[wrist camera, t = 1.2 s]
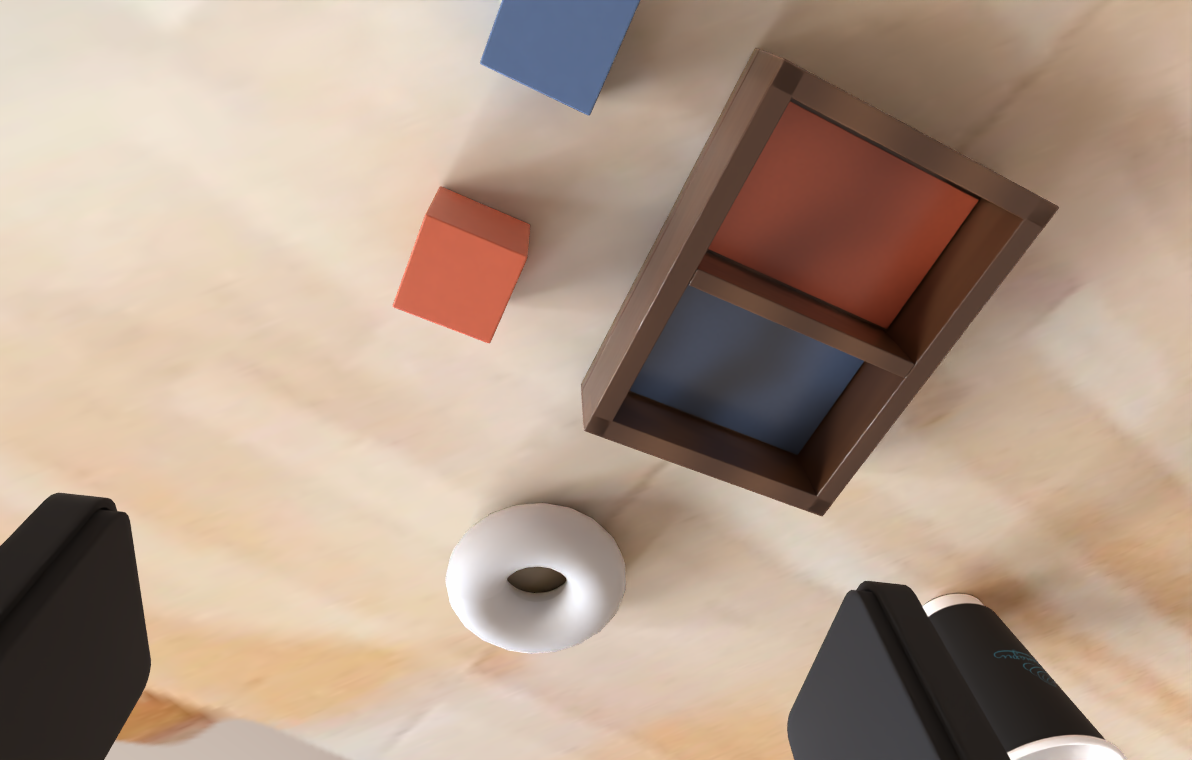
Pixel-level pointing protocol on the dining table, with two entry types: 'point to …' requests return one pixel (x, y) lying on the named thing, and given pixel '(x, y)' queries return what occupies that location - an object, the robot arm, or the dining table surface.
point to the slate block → (559, 45)
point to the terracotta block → (463, 265)
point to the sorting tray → (802, 289)
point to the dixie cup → (1014, 686)
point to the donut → (531, 543)
